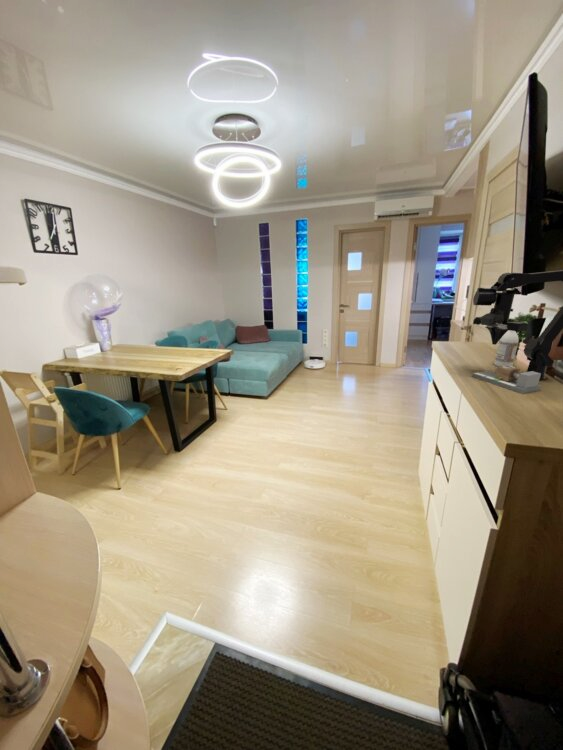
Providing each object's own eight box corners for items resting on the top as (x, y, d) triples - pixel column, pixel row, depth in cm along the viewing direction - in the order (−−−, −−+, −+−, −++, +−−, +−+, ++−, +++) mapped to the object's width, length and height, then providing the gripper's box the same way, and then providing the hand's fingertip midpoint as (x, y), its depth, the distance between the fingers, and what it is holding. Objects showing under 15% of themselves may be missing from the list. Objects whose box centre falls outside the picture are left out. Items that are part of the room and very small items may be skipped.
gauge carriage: (504, 376, 124) (507, 364, 122) (523, 382, 117) (527, 369, 115) (491, 378, 121) (494, 366, 120) (511, 384, 115) (514, 371, 113)
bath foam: (508, 368, 138) (519, 324, 132) (491, 365, 144) (501, 322, 137) (514, 366, 142) (525, 322, 135) (498, 362, 147) (508, 320, 141)
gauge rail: (489, 373, 132) (492, 359, 130) (540, 390, 114) (545, 373, 112) (472, 376, 128) (475, 361, 126) (522, 393, 111) (526, 376, 109)
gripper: (467, 304, 128) (460, 341, 133) (512, 309, 111) (502, 351, 116) (486, 303, 131) (478, 339, 136) (533, 308, 115) (522, 348, 120)
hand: (494, 344), depth 127 cm, fingers closed
